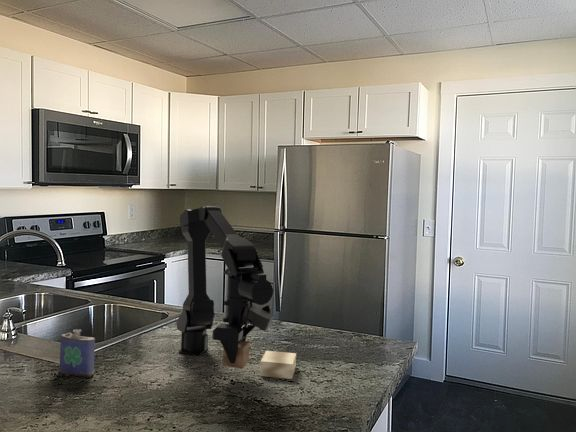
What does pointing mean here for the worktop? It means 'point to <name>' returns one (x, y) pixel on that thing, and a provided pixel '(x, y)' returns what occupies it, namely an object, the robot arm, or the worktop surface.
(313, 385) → the worktop surface
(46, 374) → the worktop surface
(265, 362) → the beech block
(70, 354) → the flask
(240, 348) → the walnut cube
